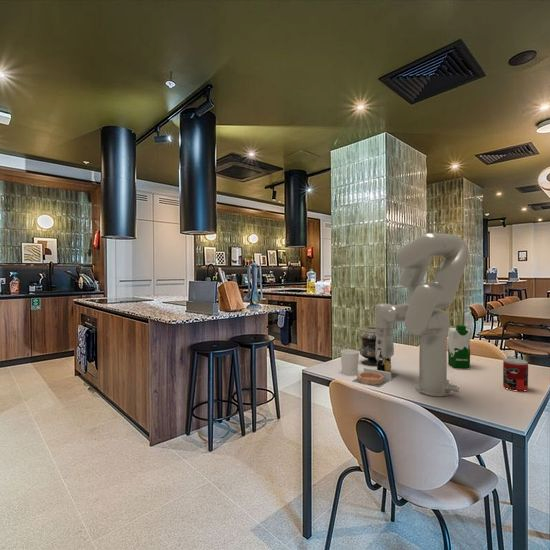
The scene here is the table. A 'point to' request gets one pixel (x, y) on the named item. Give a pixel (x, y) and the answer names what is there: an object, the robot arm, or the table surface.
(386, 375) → the white thin block
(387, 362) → the ball
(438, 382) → the robot arm
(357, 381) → the mat
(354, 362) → the white cup
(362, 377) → the saucer
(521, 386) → the canned food
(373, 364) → the apothecary jar
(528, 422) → the table surface
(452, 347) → the milk carton
